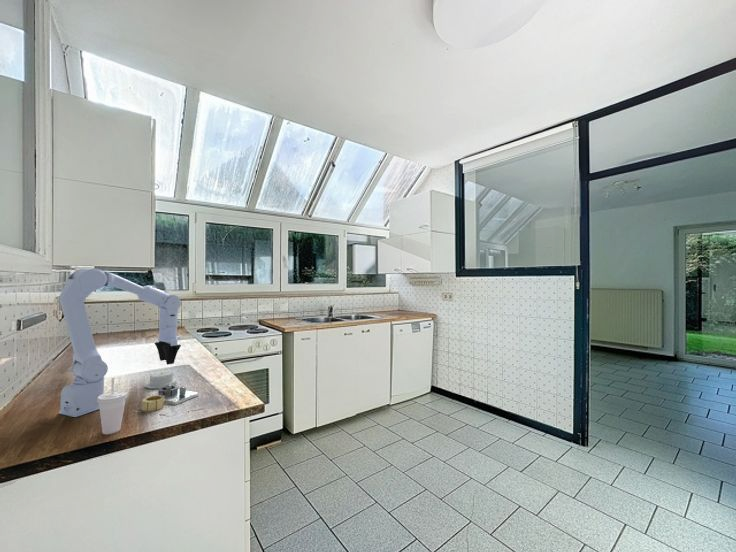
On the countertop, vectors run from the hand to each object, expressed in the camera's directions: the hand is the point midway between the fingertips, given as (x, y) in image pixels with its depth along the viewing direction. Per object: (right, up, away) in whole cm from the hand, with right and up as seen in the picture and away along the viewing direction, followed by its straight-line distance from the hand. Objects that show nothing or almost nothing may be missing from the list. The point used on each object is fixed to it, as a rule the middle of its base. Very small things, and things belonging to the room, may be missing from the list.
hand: (166, 362), depth 115 cm
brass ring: (+8, -10, -18) cm, 22 cm away
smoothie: (+7, -10, -33) cm, 35 cm away
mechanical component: (-4, -10, +3) cm, 12 cm away
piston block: (+9, -10, -10) cm, 17 cm away
